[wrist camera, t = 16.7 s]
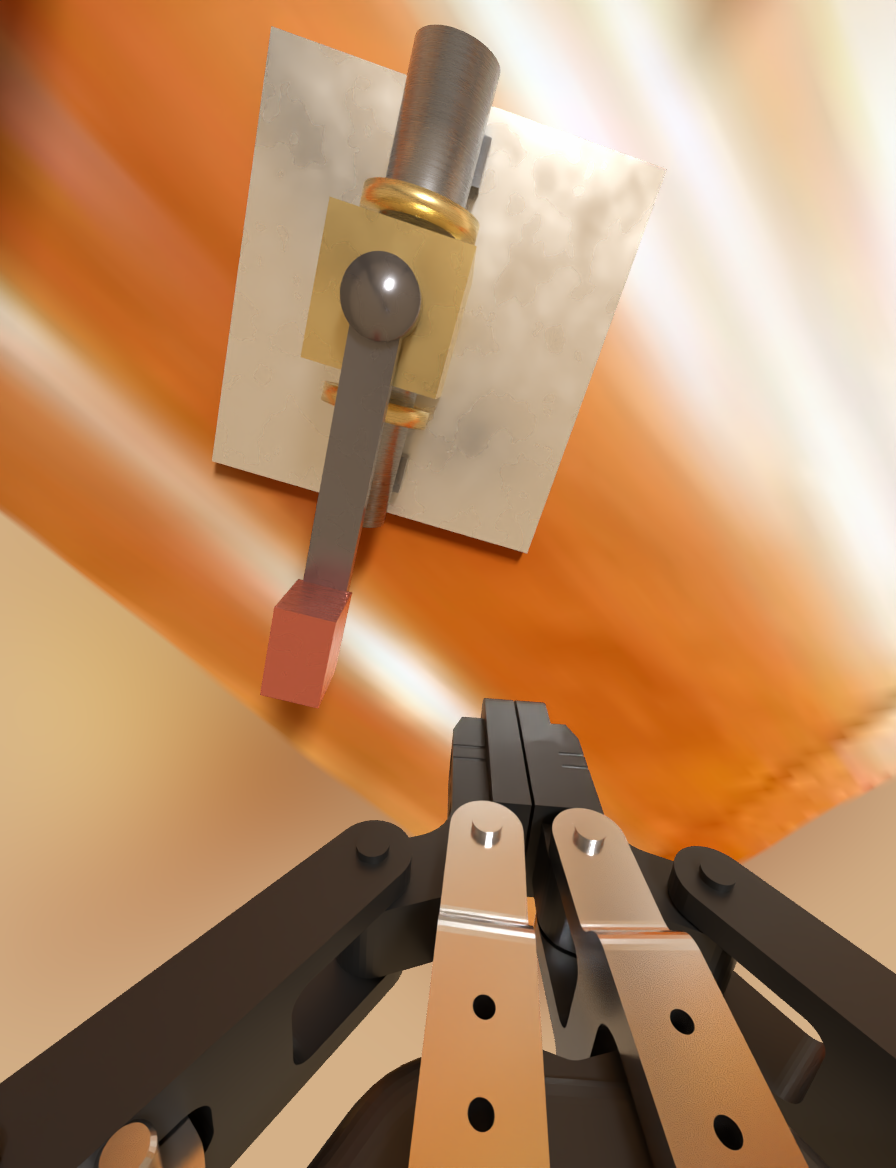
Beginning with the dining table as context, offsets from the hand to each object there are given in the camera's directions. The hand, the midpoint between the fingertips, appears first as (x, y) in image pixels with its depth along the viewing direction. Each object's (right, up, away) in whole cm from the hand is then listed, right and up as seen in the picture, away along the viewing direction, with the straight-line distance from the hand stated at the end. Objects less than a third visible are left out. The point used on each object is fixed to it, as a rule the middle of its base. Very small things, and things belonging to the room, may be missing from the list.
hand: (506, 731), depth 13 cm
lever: (-7, +9, +15) cm, 19 cm away
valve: (-4, +20, +21) cm, 30 cm away
